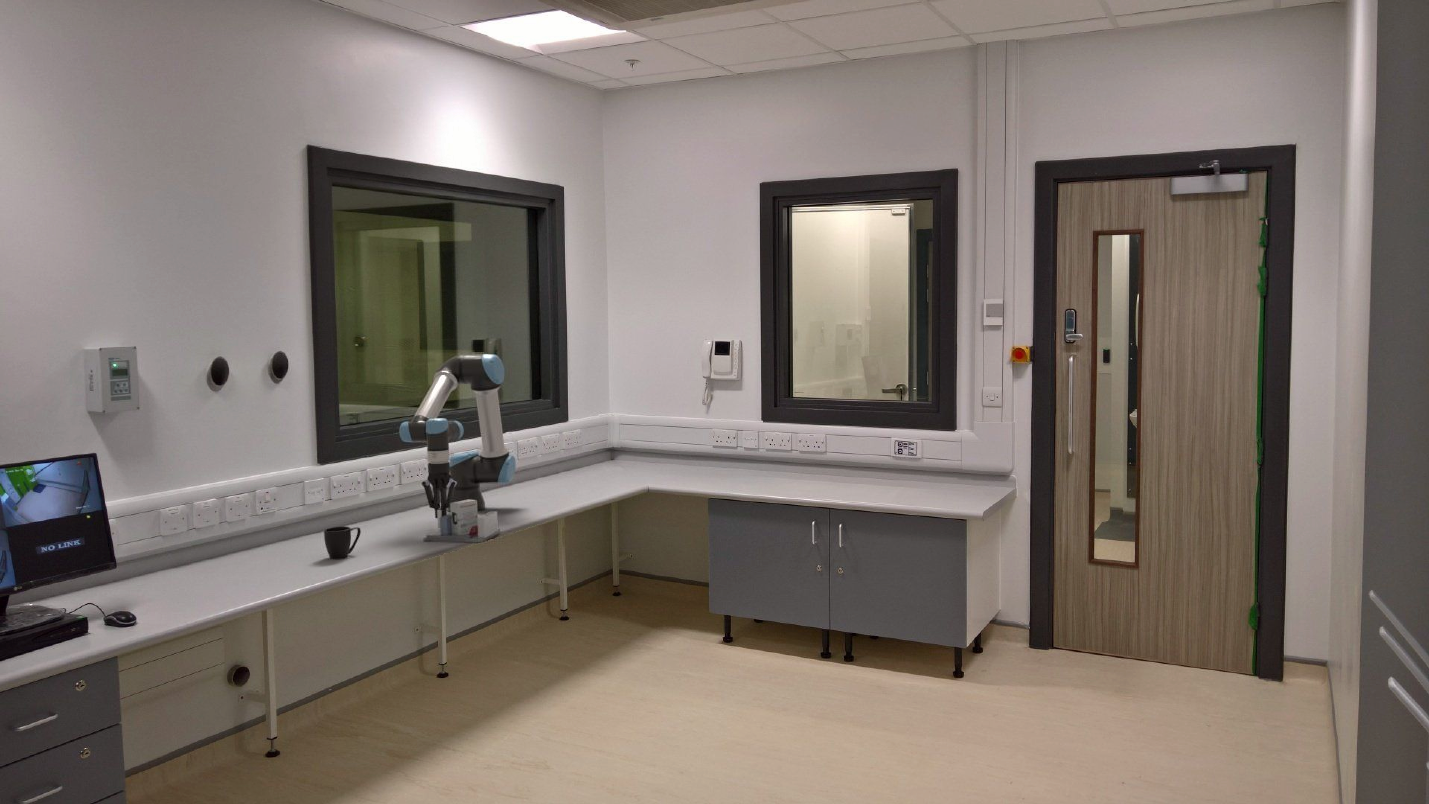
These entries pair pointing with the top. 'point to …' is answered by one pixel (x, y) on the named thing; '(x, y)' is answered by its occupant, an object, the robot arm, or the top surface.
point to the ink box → (464, 517)
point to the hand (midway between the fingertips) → (441, 527)
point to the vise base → (485, 532)
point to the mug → (339, 541)
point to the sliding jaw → (445, 524)
